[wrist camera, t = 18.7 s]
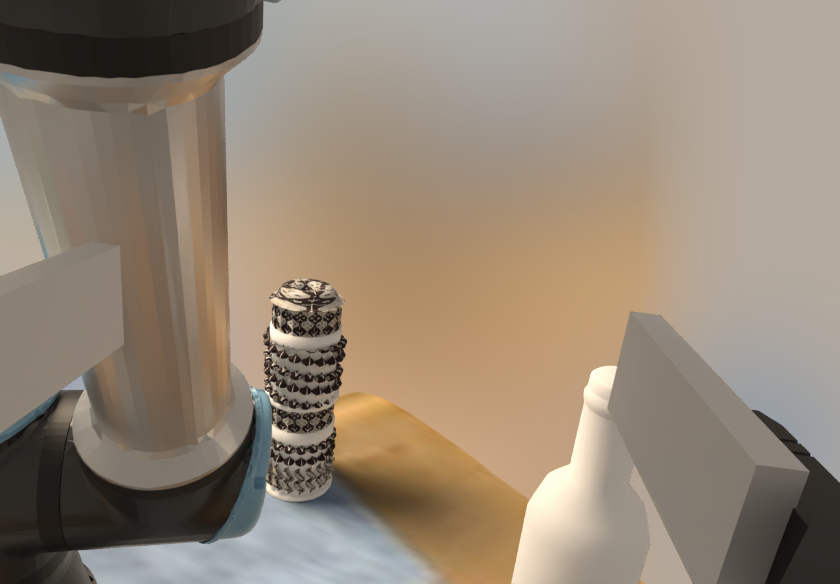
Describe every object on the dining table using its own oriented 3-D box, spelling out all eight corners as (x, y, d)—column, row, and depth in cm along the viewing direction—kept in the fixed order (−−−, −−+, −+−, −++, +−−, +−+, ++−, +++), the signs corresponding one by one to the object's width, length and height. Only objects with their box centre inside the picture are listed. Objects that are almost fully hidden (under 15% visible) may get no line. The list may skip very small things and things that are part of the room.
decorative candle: (298, 515, 66) (311, 306, 59) (241, 481, 71) (246, 283, 63) (350, 478, 74) (368, 288, 66) (296, 449, 78) (306, 268, 71)
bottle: (611, 767, 43) (724, 399, 34) (526, 820, 39) (627, 422, 30) (540, 673, 49) (618, 344, 40) (461, 711, 46) (528, 356, 36)
